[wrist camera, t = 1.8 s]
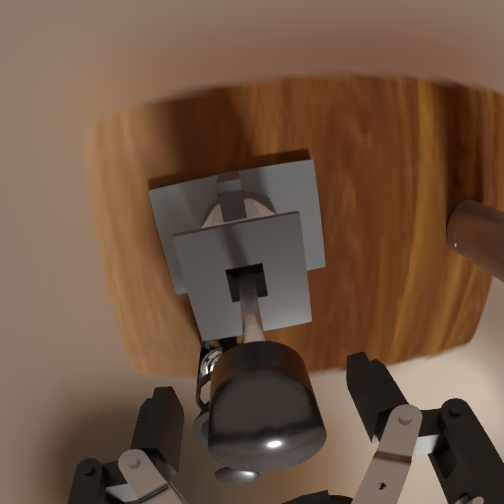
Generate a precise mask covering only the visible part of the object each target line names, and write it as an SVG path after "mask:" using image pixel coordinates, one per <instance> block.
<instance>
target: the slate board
mask: <svg viewBox="0 0 504 504" xmlns="http://www.w3.org/2000/svg"><path fill="white" fill-rule="evenodd" d="M238 174H239V178H240V183H241V188H242V191H244V192H250V193H254V194H256V195H259V196H260V197H262V198H264V199H265V200H266V201H267V202H268V203H269V204H270V205H271V206H272V207H273V209H274V210H275V212H276V214H281V213H287V212H292V211H298V212H299V213H300V219H301V227H302V235H303V243H304V251H305V260H306V269H307V270H312V269H317V268H322V267H325V255H324V245H323V234H322V225H321V216H320V207H319V199H318V191H317V183H316V176H315V168H314V161H313V159H306V160H299V161H292V162H286V163H279V164H273V165H267V166H261V167H255V168H249V169H244V170H238ZM219 175H220V174H218V175H213V176H208V177H203V178H198V179H194V180H189V181H185V182H180V183H176V184H172V185H167V186H163V187H159V188H155V189H151V190H149V191H148V192H149V197H150V201H151V205H152V209H153V213H154V217H155V221H156V225H157V229H158V233H159V236H160V240H161V244H162V247H163V251H164V254H165V258H166V261H167V265H168V268H169V272H170V275H171V278H172V282H173V285H174V288H175V292H176V295H177V294H183V293H188V292H187V289H186V286H185V282H184V279H183V275H182V272H181V268H180V264H179V261H178V257H177V253H176V250H175V246H174V242H173V238H172V237H173V235H174V234H177V233H182V232H187V231H191V230H196V229H201V226H202V221H203V218H204V216H205V213H206V211H207V210H208V208H209V207H210V205H211V204H212V203H213V202H214V201H215V200H217V199H218V193H217V188H216V182H217V179H218V177H219Z"/></svg>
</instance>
